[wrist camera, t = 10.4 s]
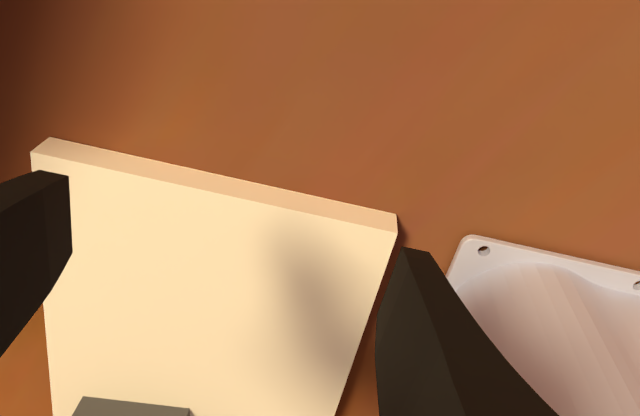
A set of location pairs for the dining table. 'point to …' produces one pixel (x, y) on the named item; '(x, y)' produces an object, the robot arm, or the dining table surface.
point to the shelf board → (206, 288)
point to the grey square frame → (124, 408)
